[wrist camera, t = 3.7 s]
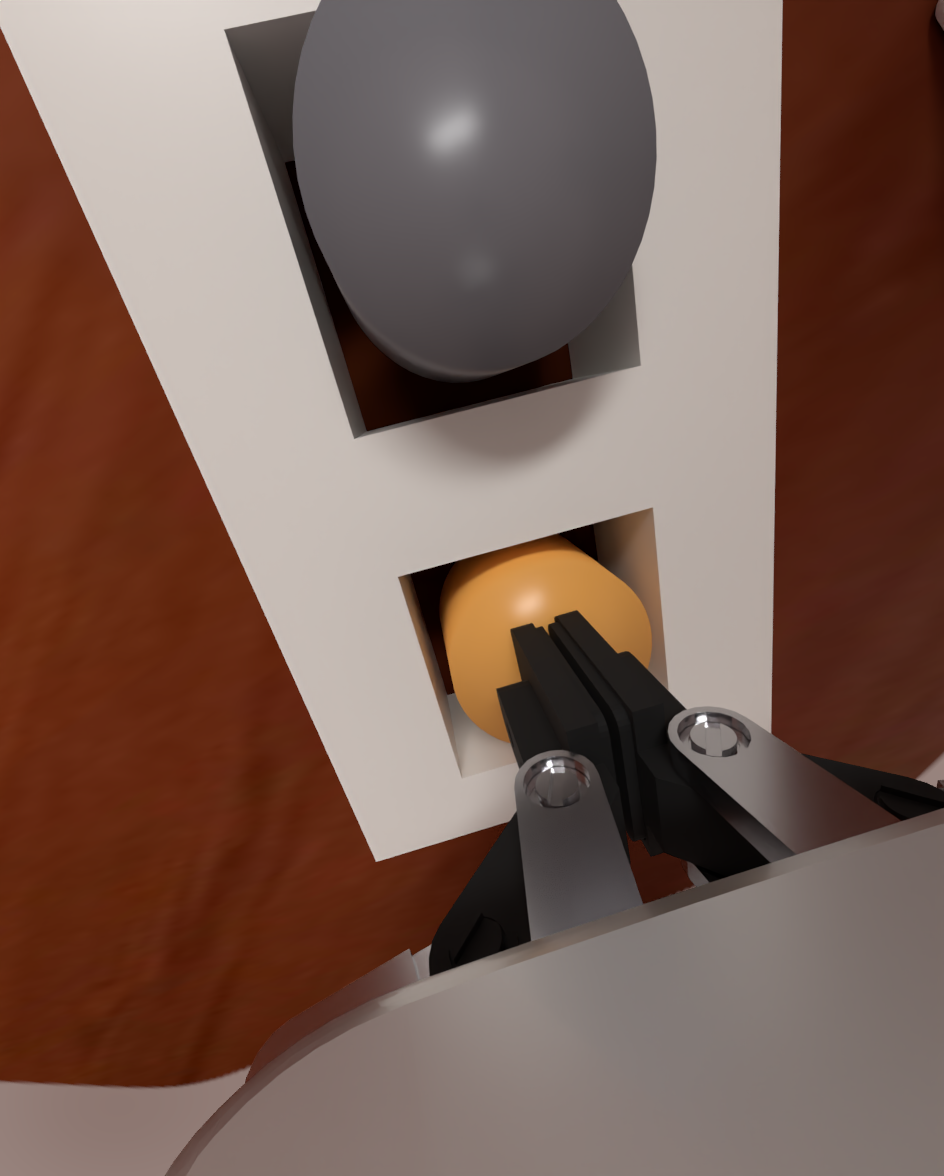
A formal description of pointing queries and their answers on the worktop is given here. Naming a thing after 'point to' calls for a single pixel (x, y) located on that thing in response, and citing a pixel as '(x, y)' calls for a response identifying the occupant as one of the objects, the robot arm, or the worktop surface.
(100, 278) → the worktop surface
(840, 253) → the worktop surface
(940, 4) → the medicine bottle
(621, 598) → the orange button
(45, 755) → the worktop surface
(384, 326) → the charcoal button
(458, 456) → the frame
